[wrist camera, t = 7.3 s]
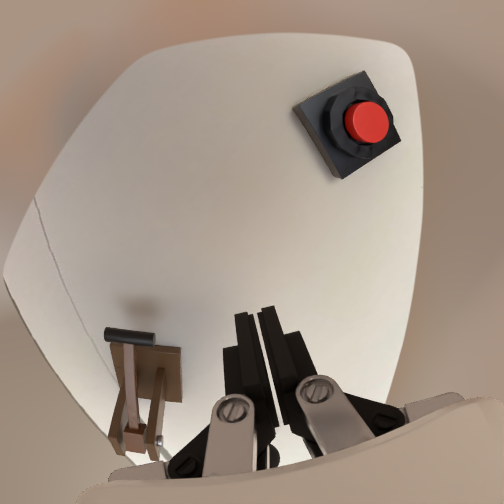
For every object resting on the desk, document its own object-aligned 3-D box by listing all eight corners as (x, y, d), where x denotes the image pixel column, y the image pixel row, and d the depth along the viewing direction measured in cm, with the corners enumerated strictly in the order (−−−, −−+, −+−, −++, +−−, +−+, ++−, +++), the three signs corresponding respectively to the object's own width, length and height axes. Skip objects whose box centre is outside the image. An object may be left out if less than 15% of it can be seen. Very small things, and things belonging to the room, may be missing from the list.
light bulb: (270, 431, 43) (280, 478, 34) (237, 433, 42) (242, 481, 33) (273, 413, 40) (285, 464, 31) (237, 416, 40) (243, 468, 31)
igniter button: (336, 113, 21) (345, 112, 20) (366, 97, 21) (376, 95, 19) (356, 149, 23) (365, 150, 21) (384, 131, 22) (395, 131, 21)
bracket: (111, 339, 32) (82, 418, 20) (180, 347, 33) (171, 434, 21) (123, 389, 35) (106, 460, 24) (182, 396, 37) (178, 472, 25)
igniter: (292, 107, 24) (304, 102, 21) (354, 74, 23) (373, 67, 20) (333, 176, 27) (350, 182, 24) (390, 139, 26) (411, 142, 23)
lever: (109, 324, 26) (101, 329, 23) (156, 330, 26) (152, 336, 24) (118, 437, 25) (114, 448, 22) (160, 444, 26) (157, 455, 23)
